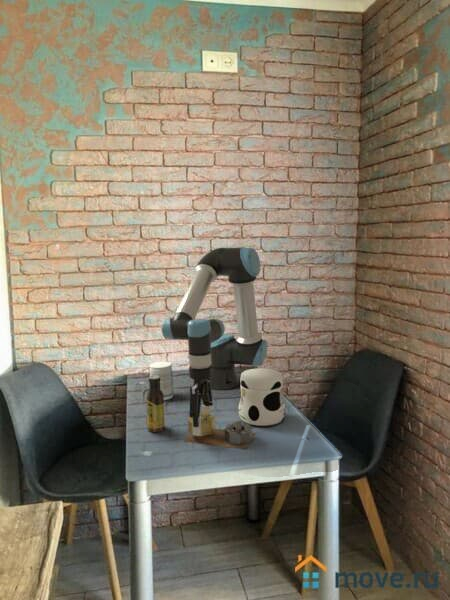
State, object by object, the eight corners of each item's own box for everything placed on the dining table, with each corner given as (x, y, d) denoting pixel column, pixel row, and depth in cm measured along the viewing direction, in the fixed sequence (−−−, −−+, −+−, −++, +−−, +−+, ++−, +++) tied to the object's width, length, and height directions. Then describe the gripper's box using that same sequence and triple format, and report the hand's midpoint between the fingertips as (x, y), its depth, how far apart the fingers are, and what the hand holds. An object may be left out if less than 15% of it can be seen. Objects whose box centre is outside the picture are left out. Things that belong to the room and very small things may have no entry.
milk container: (231, 416, 174) (230, 370, 172) (272, 409, 181) (271, 365, 178) (250, 434, 158) (249, 384, 156) (294, 425, 165) (294, 377, 162)
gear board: (196, 429, 164) (196, 410, 163) (256, 436, 157) (255, 416, 156) (183, 444, 152) (182, 424, 151) (247, 452, 146) (246, 431, 145)
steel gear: (230, 432, 158) (230, 421, 157) (254, 435, 155) (254, 424, 155) (222, 443, 150) (222, 432, 149) (247, 446, 147) (247, 435, 147)
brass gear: (194, 423, 162) (194, 412, 161) (217, 426, 159) (217, 415, 158) (185, 433, 154) (185, 422, 153) (209, 436, 151) (209, 425, 150)
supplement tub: (177, 398, 195) (176, 364, 193) (157, 403, 190) (155, 369, 187) (167, 391, 203) (165, 359, 201) (147, 396, 198) (145, 363, 195)
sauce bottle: (145, 427, 166) (143, 375, 163) (162, 424, 168) (160, 372, 166) (150, 434, 160) (147, 380, 157) (167, 431, 163) (164, 377, 160)
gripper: (201, 356, 164) (202, 416, 167) (176, 374, 144) (179, 441, 147) (220, 357, 162) (222, 418, 165) (199, 376, 142) (201, 444, 145)
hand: (202, 429), depth 156 cm, fingers closed on brass gear, 9 cm apart
